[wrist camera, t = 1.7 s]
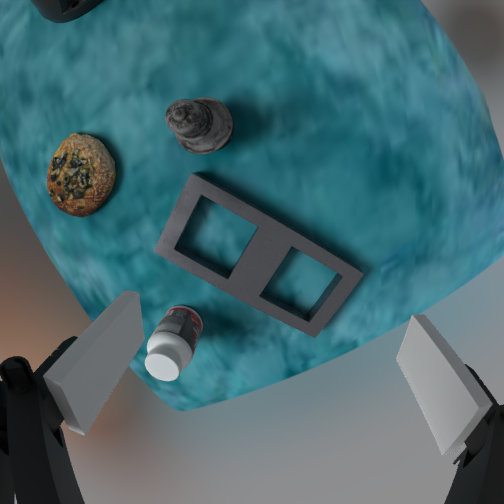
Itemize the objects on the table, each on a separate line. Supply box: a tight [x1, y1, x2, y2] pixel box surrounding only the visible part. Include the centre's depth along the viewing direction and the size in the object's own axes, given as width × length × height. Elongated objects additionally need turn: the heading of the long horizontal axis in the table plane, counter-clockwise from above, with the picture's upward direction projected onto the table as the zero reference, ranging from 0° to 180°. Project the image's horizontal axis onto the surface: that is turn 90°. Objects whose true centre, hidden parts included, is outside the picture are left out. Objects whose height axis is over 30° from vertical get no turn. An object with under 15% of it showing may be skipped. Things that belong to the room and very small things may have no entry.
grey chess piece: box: [165, 97, 234, 154], centre depth 24 cm, size 6×6×12 cm
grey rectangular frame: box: [154, 172, 364, 338], centre depth 33 cm, size 22×10×2 cm, turn 60°
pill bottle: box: [145, 305, 203, 381], centre depth 32 cm, size 5×5×10 cm
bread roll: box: [47, 133, 116, 217], centre depth 30 cm, size 11×11×5 cm
